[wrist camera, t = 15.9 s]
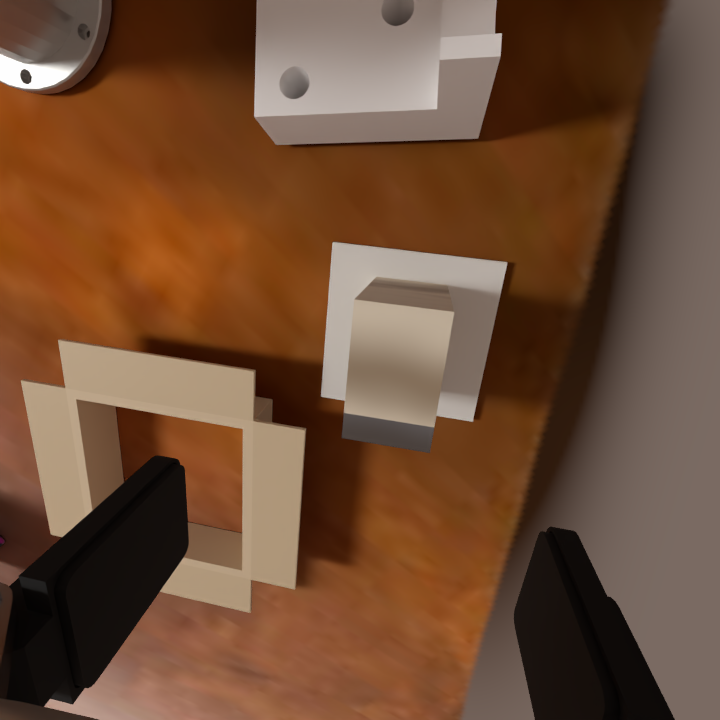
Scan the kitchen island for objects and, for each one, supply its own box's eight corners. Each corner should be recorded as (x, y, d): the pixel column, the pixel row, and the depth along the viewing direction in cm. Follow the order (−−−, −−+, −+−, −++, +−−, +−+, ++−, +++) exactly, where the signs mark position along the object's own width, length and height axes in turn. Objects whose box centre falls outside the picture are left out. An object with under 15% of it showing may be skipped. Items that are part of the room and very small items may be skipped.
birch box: (376, 276, 29) (354, 299, 21) (447, 285, 28) (454, 311, 20) (365, 380, 32) (341, 437, 23) (430, 390, 31) (429, 453, 23)
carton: (56, 320, 35) (11, 332, 31) (322, 361, 32) (308, 380, 29) (89, 537, 43) (57, 567, 39) (305, 585, 40) (292, 622, 36)
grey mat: (334, 241, 29) (332, 242, 29) (506, 261, 28) (507, 262, 27) (322, 394, 33) (320, 396, 33) (472, 418, 32) (472, 421, 31)
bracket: (485, 16, 25) (511, -121, 17) (478, 138, 25) (500, 56, 18) (279, 32, 27) (222, -86, 19) (276, 144, 27) (219, 73, 20)
